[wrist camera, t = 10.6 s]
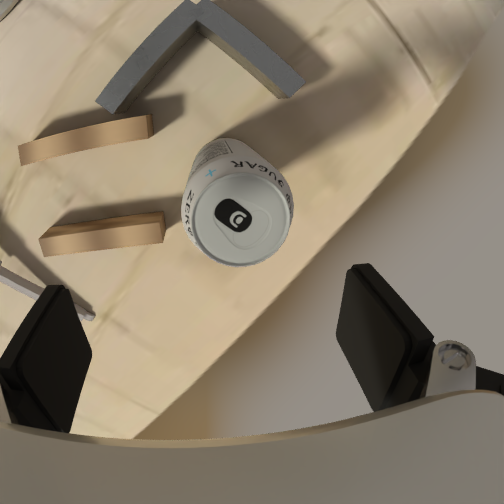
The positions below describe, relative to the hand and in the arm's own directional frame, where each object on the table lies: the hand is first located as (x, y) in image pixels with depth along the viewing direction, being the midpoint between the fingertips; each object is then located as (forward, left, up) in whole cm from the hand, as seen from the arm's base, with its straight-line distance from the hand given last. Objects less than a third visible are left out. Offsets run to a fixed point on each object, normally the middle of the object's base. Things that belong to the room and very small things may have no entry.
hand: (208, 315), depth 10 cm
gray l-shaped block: (-11, 0, -21) cm, 24 cm away
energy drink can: (0, +2, -21) cm, 21 cm away
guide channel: (0, -11, -21) cm, 24 cm away
